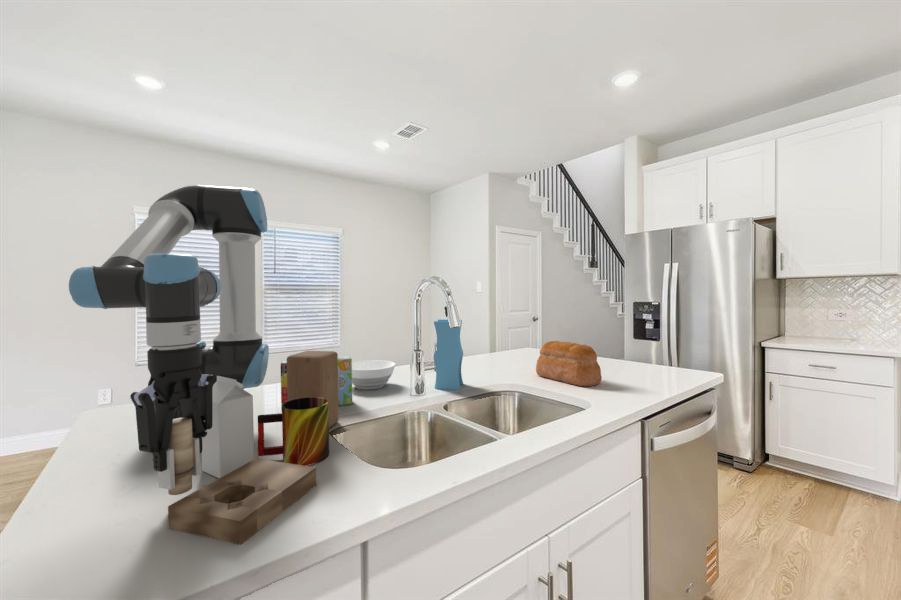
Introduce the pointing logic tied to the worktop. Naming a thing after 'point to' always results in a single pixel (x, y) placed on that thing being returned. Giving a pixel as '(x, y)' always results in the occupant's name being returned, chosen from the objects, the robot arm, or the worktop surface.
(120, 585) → the worktop surface
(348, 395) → the snack box
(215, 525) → the board
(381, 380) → the bowl
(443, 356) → the vase
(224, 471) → the milk carton
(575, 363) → the bread
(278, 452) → the mug
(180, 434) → the peg
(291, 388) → the wooden block
